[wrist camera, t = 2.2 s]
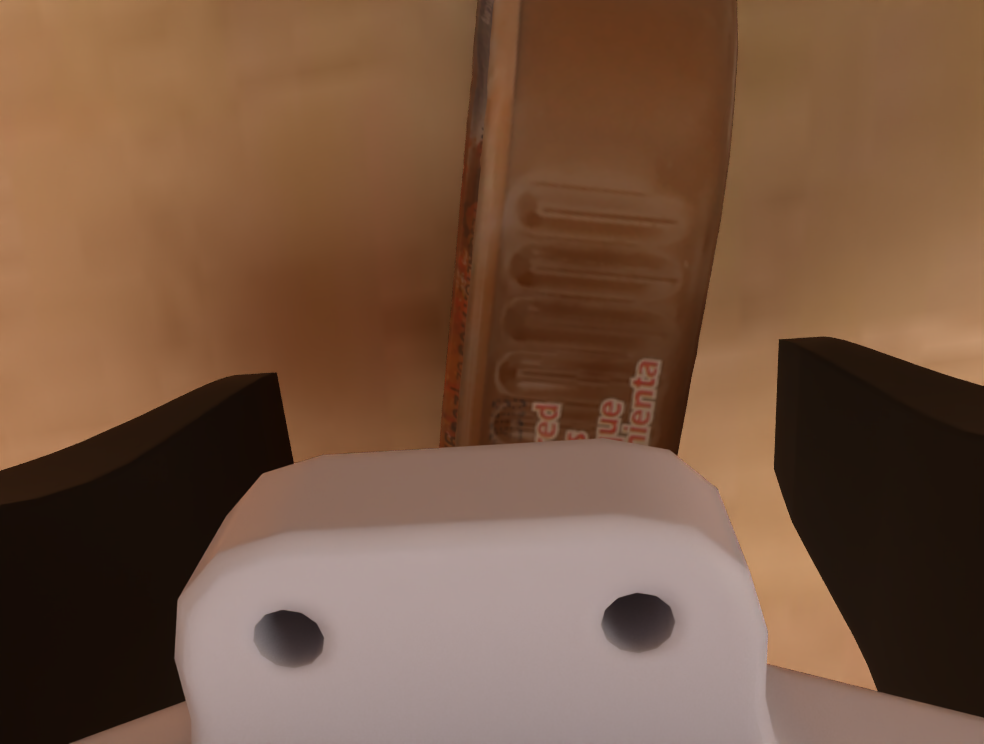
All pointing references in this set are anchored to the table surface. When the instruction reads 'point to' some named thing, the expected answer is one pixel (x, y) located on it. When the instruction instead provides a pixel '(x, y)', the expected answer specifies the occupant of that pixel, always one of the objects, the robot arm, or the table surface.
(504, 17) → the tin
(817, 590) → the table surface
